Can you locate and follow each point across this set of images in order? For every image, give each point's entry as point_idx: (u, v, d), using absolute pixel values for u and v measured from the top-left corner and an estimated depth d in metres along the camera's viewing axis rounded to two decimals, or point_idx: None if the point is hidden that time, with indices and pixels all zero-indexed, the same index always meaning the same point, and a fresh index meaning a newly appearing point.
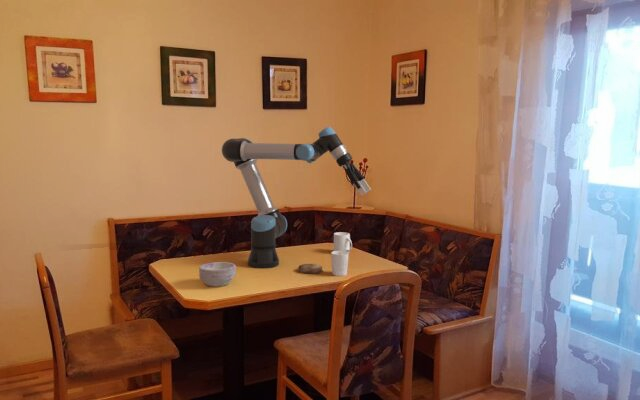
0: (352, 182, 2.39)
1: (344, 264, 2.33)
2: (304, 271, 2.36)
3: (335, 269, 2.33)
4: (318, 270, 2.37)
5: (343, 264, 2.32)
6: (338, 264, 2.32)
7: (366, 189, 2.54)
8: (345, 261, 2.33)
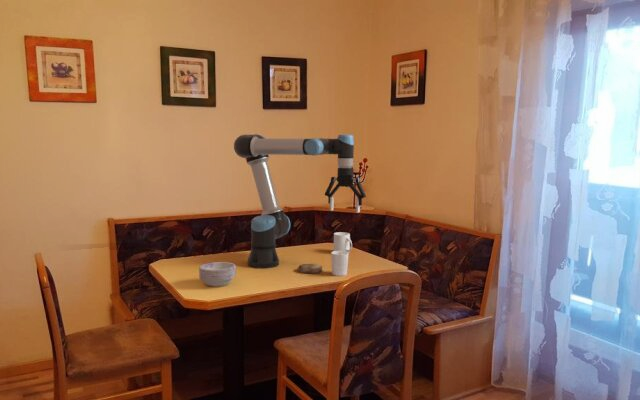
0: (363, 197, 2.42)
1: (344, 264, 2.33)
2: (304, 271, 2.36)
3: (335, 269, 2.33)
4: (318, 270, 2.37)
5: (343, 264, 2.32)
6: (338, 264, 2.32)
7: (332, 207, 2.50)
8: (345, 261, 2.33)
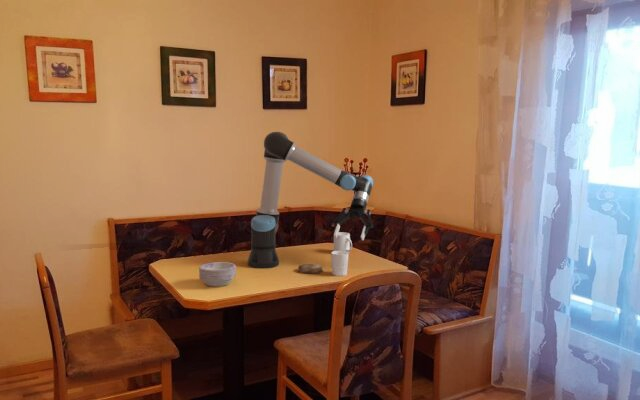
0: (371, 225, 2.43)
1: (344, 264, 2.33)
2: (304, 271, 2.36)
3: (335, 269, 2.33)
4: (318, 270, 2.37)
5: (343, 264, 2.32)
6: (338, 264, 2.32)
7: (336, 233, 2.47)
8: (345, 261, 2.33)
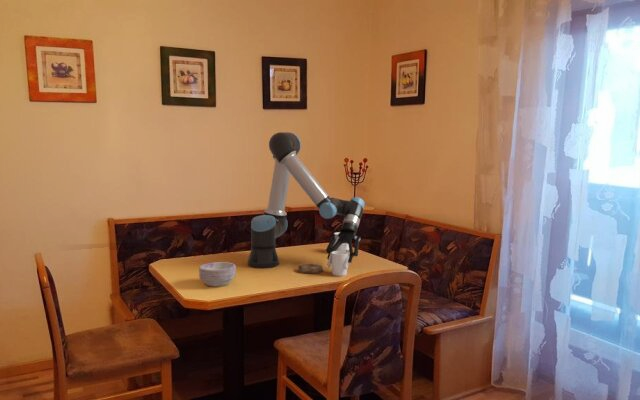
0: (355, 254, 2.33)
1: (344, 264, 2.33)
2: (304, 271, 2.36)
3: (335, 269, 2.33)
4: (318, 270, 2.37)
5: (343, 264, 2.32)
6: (338, 264, 2.32)
7: (329, 263, 2.35)
8: (345, 261, 2.33)
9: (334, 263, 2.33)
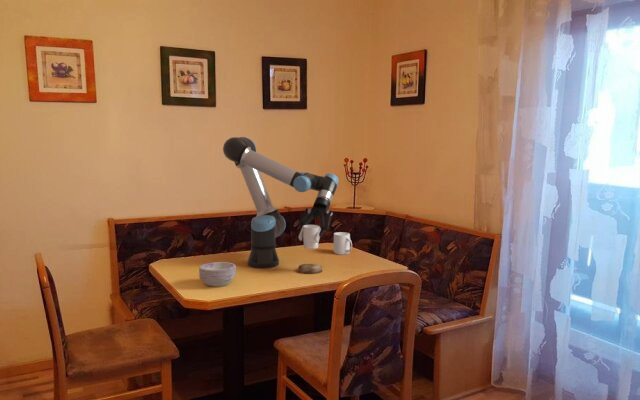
0: (326, 227, 2.37)
1: (315, 237, 2.36)
2: (304, 271, 2.36)
3: (306, 242, 2.37)
4: (318, 270, 2.37)
5: (314, 238, 2.36)
6: (309, 237, 2.35)
7: (301, 236, 2.38)
8: (316, 234, 2.36)
9: (305, 236, 2.36)
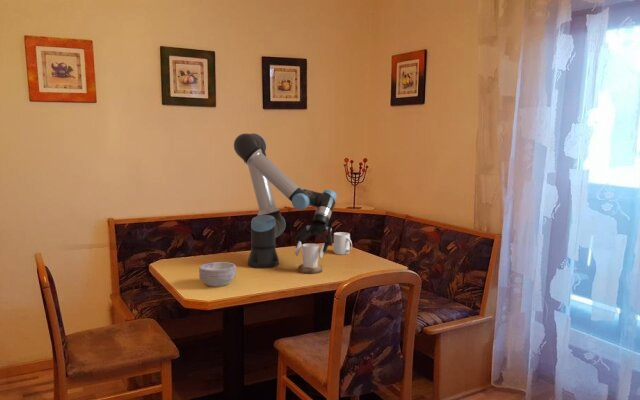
0: (330, 243, 2.38)
1: (314, 256, 2.37)
2: (304, 271, 2.36)
3: (306, 261, 2.38)
4: (318, 270, 2.37)
5: (313, 257, 2.37)
6: (308, 256, 2.37)
7: (297, 251, 2.41)
8: (315, 253, 2.37)
9: (305, 255, 2.38)
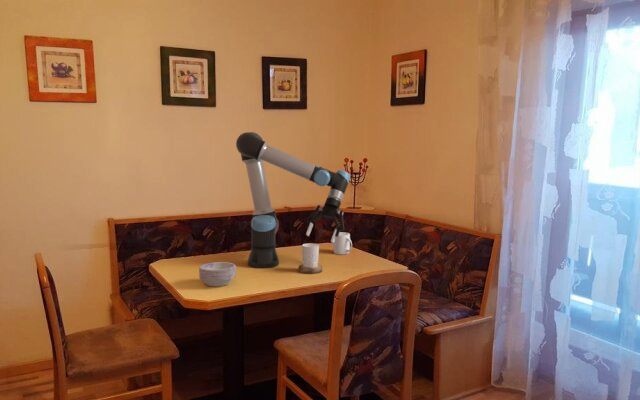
0: (342, 229, 2.49)
1: (314, 256, 2.37)
2: (304, 271, 2.36)
3: (306, 261, 2.38)
4: (318, 270, 2.37)
5: (313, 257, 2.37)
6: (308, 256, 2.37)
7: (308, 233, 2.54)
8: (315, 253, 2.37)
9: (304, 255, 2.38)
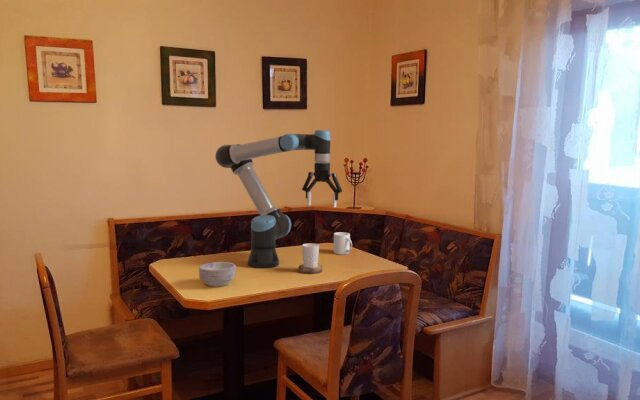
0: None
1: (314, 256, 2.37)
2: (304, 271, 2.36)
3: (306, 261, 2.38)
4: (318, 270, 2.37)
5: (313, 257, 2.37)
6: (308, 256, 2.37)
7: (309, 202, 2.53)
8: (315, 253, 2.37)
9: (305, 255, 2.38)
